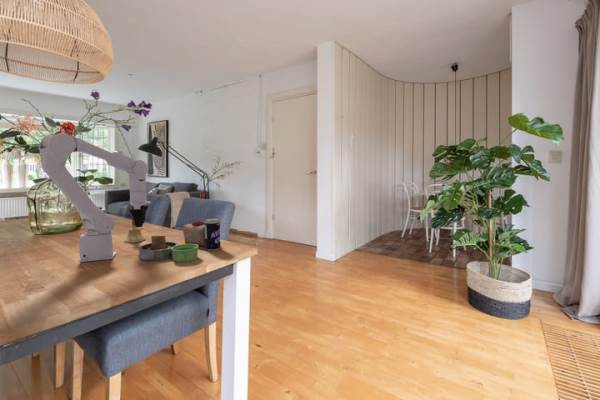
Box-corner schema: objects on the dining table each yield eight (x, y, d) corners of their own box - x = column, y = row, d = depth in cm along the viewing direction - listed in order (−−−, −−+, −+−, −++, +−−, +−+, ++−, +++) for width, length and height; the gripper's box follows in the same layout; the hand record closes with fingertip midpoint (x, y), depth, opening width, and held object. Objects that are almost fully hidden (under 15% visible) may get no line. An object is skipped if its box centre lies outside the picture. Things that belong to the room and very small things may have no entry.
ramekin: (178, 264, 97) (178, 251, 96) (167, 259, 103) (166, 247, 103) (203, 258, 104) (203, 246, 103) (191, 253, 110) (190, 242, 109)
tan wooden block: (152, 254, 106) (151, 236, 105) (152, 253, 107) (151, 235, 107) (166, 252, 107) (165, 235, 107) (166, 251, 109) (165, 234, 108)
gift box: (180, 244, 124) (179, 221, 123) (195, 240, 131) (194, 218, 130) (204, 248, 117) (203, 224, 116) (218, 243, 124) (217, 220, 123)
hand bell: (136, 237, 135) (133, 203, 133) (149, 239, 132) (147, 204, 130) (119, 242, 127) (117, 205, 125) (133, 243, 124) (131, 206, 123)
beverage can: (211, 252, 111) (210, 221, 110) (202, 249, 114) (201, 219, 113) (223, 249, 116) (222, 219, 114) (214, 246, 119) (213, 217, 118)
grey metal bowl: (137, 262, 99) (136, 252, 99) (141, 252, 111) (140, 243, 110) (179, 257, 104) (178, 248, 104) (178, 248, 116) (178, 240, 116)
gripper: (148, 191, 109) (150, 227, 111) (150, 189, 122) (152, 221, 124) (126, 192, 106) (128, 229, 108) (131, 189, 120) (133, 222, 121)
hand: (140, 225), depth 116 cm, fingers open, 7 cm apart
